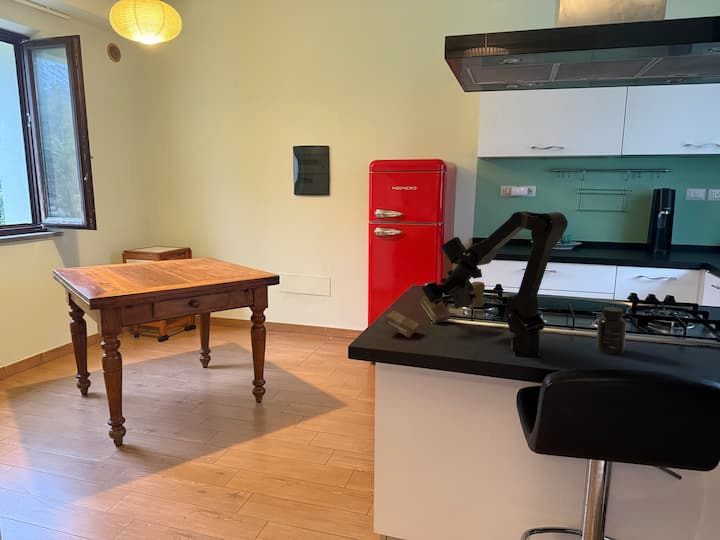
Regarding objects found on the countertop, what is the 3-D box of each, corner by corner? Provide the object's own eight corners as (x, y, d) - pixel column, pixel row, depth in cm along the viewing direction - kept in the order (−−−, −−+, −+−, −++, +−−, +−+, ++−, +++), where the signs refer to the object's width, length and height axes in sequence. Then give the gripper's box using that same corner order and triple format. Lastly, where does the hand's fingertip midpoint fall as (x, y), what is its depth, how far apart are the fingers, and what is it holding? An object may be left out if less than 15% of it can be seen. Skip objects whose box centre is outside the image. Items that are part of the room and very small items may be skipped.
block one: (419, 323, 146) (393, 310, 148) (412, 329, 140) (386, 315, 143) (415, 332, 147) (390, 318, 149) (409, 338, 141) (382, 324, 144)
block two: (451, 314, 157) (436, 294, 161) (437, 317, 153) (422, 296, 158) (447, 320, 158) (432, 299, 163) (433, 323, 155) (418, 302, 160)
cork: (466, 312, 172) (467, 282, 170) (470, 308, 177) (471, 279, 175) (483, 314, 169) (484, 284, 167) (487, 310, 174) (487, 281, 172)
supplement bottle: (595, 345, 135) (598, 304, 133) (622, 348, 133) (625, 306, 131) (596, 353, 129) (600, 311, 127) (625, 356, 127) (629, 313, 124)
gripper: (453, 301, 138) (426, 328, 149) (494, 291, 149) (467, 318, 160) (434, 271, 143) (409, 299, 154) (475, 264, 154) (450, 291, 164)
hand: (435, 303), depth 158 cm, fingers closed, pressing on block two
